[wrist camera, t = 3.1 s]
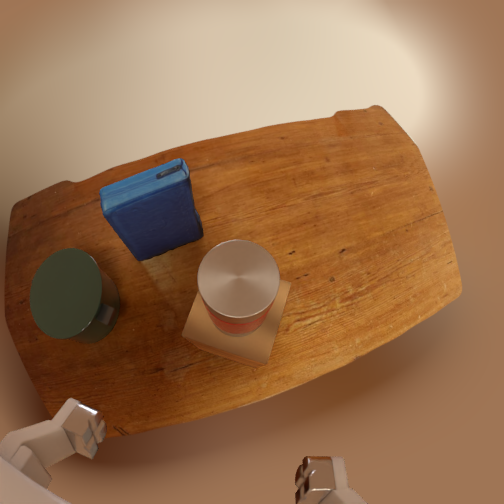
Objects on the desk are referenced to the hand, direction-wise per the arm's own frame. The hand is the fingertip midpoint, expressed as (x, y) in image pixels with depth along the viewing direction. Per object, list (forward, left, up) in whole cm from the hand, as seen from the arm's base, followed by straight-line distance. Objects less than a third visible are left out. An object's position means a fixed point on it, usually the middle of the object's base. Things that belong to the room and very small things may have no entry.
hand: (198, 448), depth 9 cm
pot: (+5, +31, -39) cm, 50 cm away
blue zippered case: (+23, +20, -39) cm, 49 cm away
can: (+11, +2, -21) cm, 23 cm away
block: (+11, +2, -39) cm, 40 cm away
